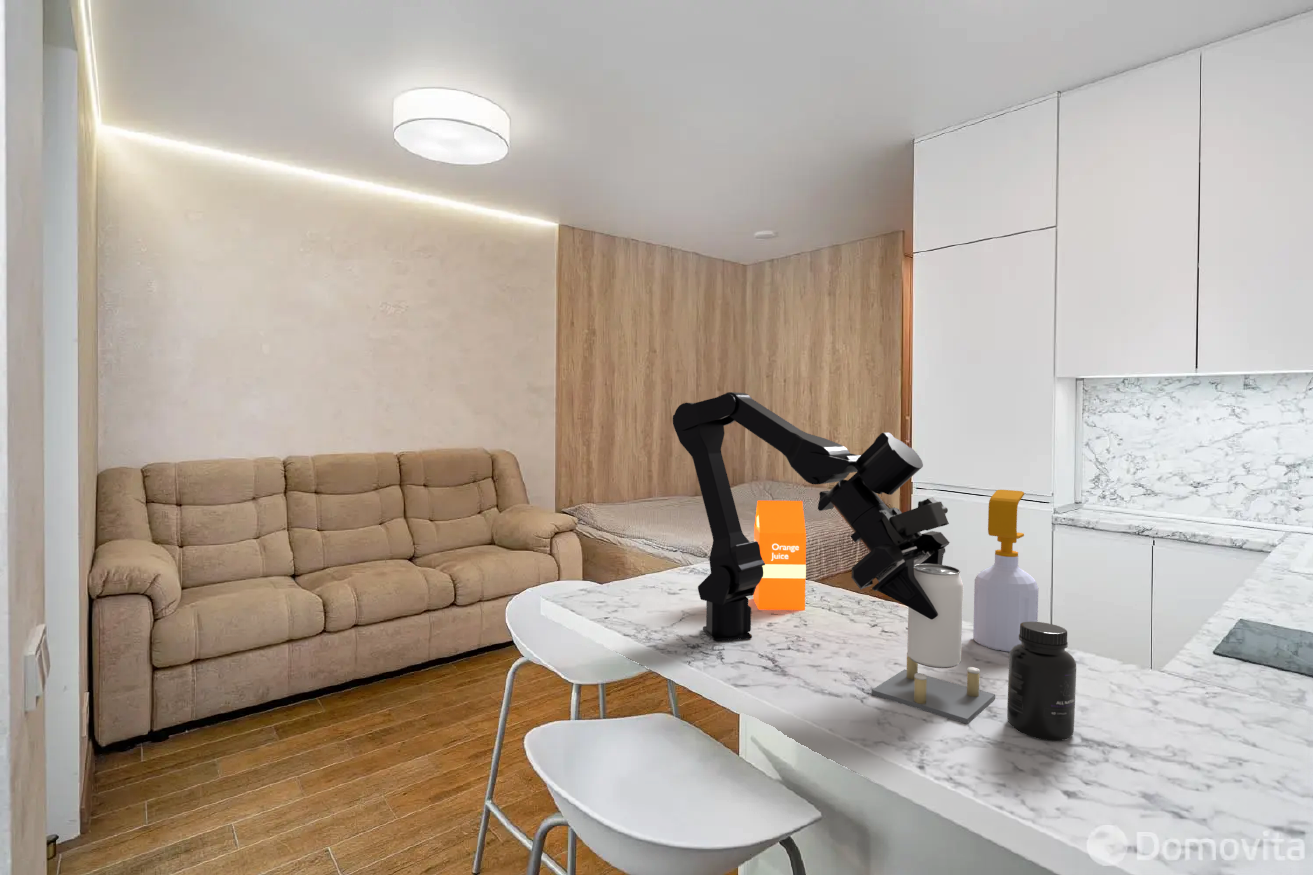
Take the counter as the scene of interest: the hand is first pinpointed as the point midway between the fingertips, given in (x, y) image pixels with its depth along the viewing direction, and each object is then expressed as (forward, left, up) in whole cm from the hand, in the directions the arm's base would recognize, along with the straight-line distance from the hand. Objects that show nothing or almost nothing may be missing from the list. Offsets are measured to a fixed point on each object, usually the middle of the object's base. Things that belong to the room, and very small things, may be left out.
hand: (945, 611), depth 87 cm
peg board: (-1, +1, -11) cm, 11 cm away
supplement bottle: (+5, -10, -11) cm, 16 cm away
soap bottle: (+23, +16, -11) cm, 31 cm away
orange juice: (-3, +45, -11) cm, 46 cm away
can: (-1, +1, -7) cm, 7 cm away
